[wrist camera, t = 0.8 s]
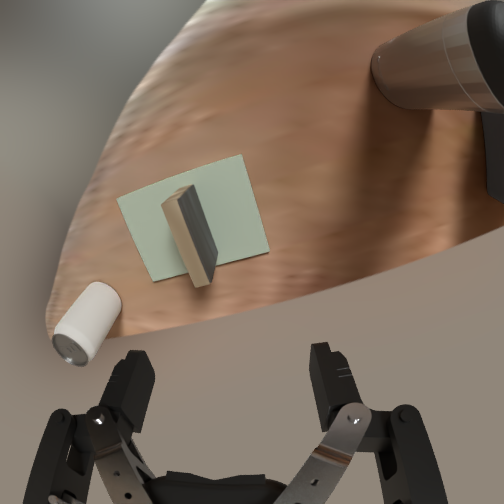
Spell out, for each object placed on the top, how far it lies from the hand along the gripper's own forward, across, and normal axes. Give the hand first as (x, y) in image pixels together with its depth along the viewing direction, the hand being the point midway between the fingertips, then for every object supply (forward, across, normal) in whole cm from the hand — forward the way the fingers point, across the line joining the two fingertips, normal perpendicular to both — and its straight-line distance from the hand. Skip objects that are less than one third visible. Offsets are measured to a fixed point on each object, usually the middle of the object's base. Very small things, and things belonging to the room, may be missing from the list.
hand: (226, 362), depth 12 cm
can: (+22, +22, +10) cm, 33 cm away
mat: (+22, +6, 0) cm, 23 cm away
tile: (+21, +5, 0) cm, 22 cm away
